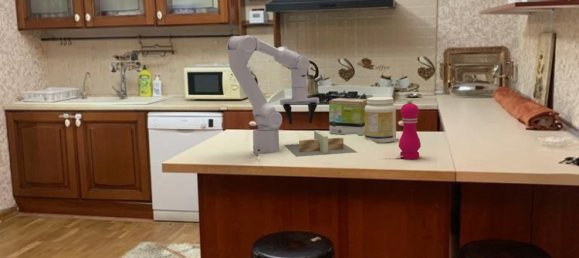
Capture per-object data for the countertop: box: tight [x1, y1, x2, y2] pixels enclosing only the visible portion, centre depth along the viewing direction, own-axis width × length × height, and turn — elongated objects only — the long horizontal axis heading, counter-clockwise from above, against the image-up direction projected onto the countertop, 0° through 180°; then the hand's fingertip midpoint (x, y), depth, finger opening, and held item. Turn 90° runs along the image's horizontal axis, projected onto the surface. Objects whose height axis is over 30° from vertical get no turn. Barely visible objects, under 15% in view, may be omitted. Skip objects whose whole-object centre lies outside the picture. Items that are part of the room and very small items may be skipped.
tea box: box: [328, 97, 368, 136], centre depth 244 cm, size 15×10×15 cm
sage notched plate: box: [313, 130, 329, 154], centre depth 204 cm, size 14×2×6 cm, turn 11°
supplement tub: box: [364, 96, 397, 144], centre depth 224 cm, size 12×12×17 cm
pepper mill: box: [398, 98, 422, 161], centre depth 190 cm, size 7×7×20 cm
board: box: [283, 143, 358, 158], centre depth 208 cm, size 22×23×1 cm
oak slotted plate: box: [298, 137, 345, 152], centre depth 204 cm, size 16×2×4 cm, turn 101°
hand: (300, 123), depth 214 cm, fingers open, 7 cm apart
